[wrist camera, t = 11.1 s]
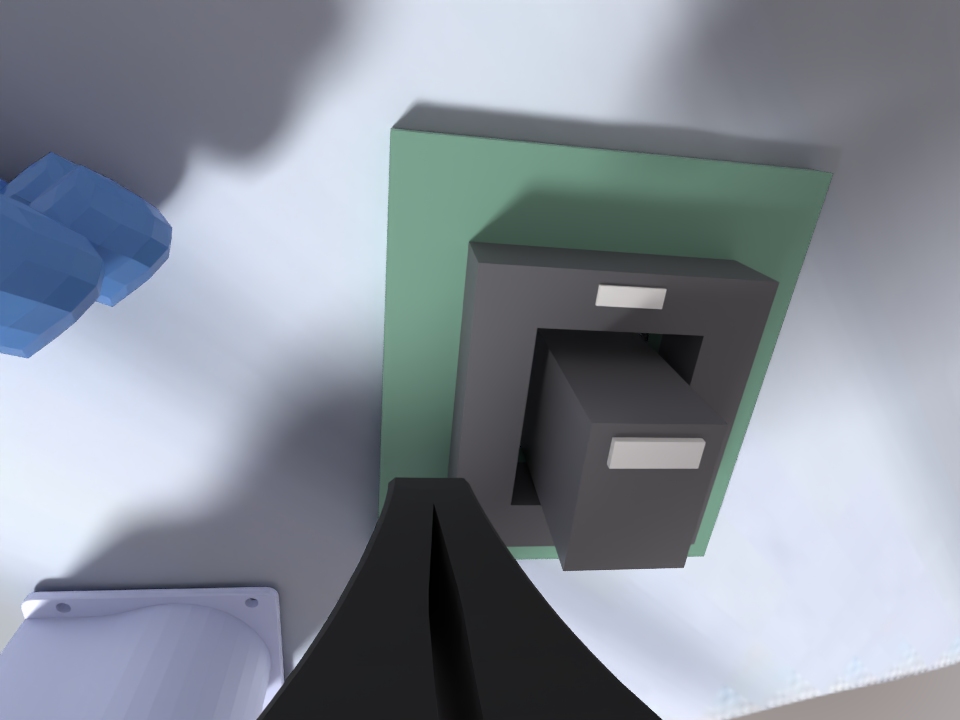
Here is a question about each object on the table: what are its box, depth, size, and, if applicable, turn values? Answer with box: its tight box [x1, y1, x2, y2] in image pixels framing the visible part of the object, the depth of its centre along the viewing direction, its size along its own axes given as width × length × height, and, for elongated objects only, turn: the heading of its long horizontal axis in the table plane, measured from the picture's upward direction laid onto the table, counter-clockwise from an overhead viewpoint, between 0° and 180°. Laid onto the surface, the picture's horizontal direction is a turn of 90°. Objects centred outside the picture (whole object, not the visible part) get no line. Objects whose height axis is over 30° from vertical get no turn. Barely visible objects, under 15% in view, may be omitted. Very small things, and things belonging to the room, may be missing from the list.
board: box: [378, 128, 833, 559], centre depth 20 cm, size 14×16×4 cm
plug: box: [520, 328, 728, 571], centre depth 18 cm, size 4×5×7 cm
